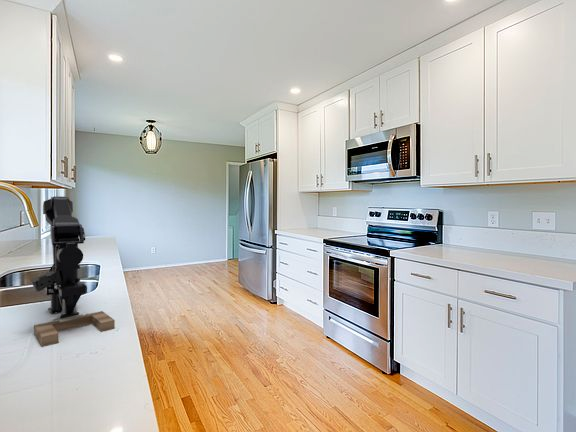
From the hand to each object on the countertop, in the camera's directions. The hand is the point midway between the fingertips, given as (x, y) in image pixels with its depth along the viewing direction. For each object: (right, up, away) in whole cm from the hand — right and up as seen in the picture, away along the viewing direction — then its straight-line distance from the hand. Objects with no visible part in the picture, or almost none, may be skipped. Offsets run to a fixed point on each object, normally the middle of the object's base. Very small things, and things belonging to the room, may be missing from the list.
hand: (67, 312), depth 96 cm
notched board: (+7, -3, -6) cm, 10 cm away
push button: (0, -3, 0) cm, 3 cm away
